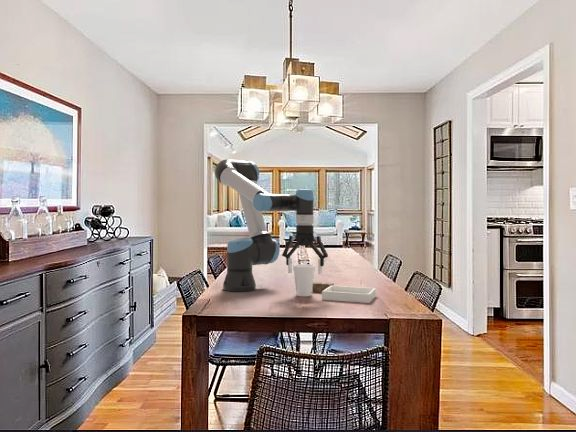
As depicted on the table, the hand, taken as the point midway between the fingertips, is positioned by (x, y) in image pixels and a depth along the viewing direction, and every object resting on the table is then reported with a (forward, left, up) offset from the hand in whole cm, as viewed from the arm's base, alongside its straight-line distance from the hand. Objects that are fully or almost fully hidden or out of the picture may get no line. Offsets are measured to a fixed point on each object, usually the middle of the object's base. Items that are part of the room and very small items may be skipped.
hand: (304, 273), depth 226 cm
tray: (+20, +1, -10) cm, 22 cm away
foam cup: (0, 0, -10) cm, 10 cm away
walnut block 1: (+3, +11, -10) cm, 15 cm away
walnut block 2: (+8, +11, -10) cm, 17 cm away
